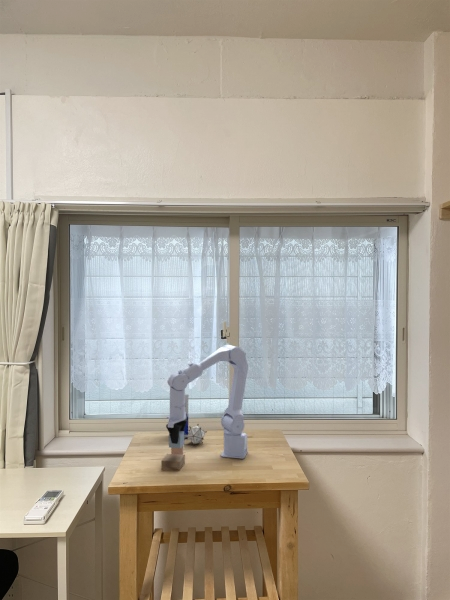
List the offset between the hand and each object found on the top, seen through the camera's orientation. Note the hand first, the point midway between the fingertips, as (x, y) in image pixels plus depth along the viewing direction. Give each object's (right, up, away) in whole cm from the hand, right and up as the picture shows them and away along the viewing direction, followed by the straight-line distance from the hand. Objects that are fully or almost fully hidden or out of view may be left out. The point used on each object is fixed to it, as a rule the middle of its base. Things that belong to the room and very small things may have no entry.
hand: (177, 441), depth 163 cm
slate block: (0, -2, 0) cm, 2 cm away
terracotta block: (-1, -9, +9) cm, 13 cm away
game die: (+6, -9, +23) cm, 25 cm away
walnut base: (-1, -9, -1) cm, 9 cm away
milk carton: (-2, -9, +32) cm, 33 cm away
